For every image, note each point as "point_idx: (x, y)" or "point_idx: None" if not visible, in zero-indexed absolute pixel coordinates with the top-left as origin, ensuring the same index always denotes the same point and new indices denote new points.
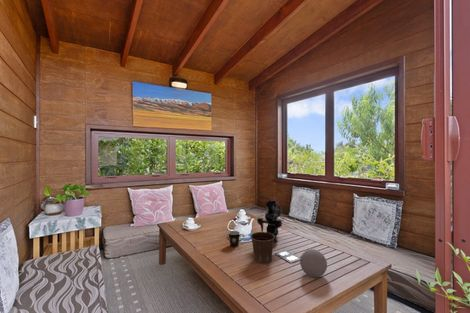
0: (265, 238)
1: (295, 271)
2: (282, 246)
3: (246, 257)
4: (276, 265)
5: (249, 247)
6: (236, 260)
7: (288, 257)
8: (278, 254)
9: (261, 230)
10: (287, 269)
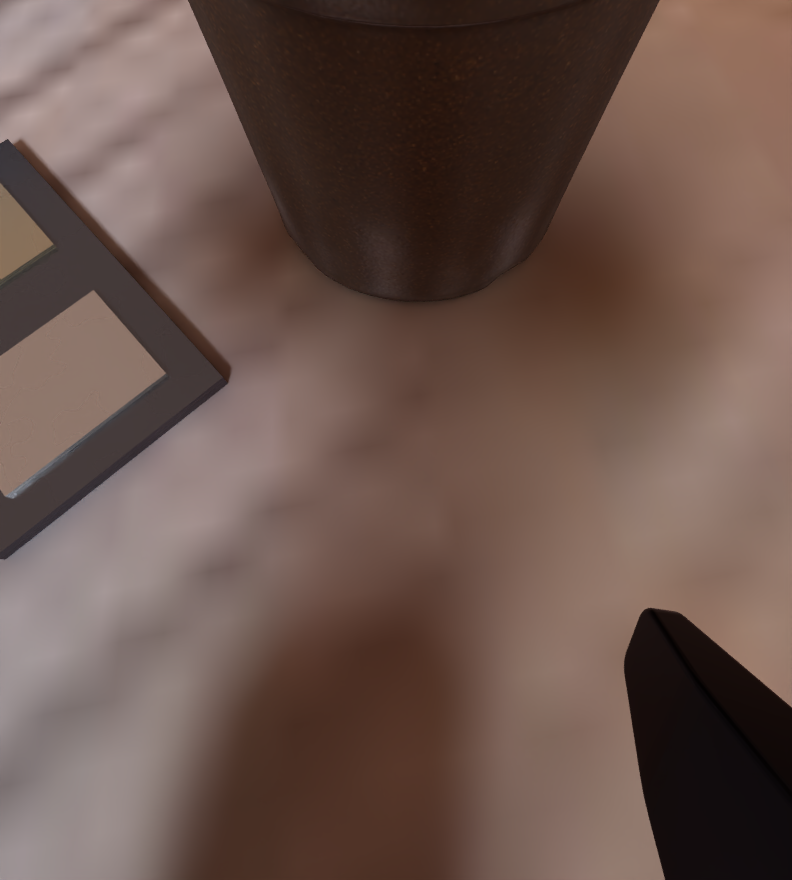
0: (369, 13)
1: (2, 2)
2: (24, 829)
3: (680, 197)
4: (219, 76)
5: (779, 605)
6: (787, 96)
7: (1, 265)
8: (159, 351)
9: (727, 656)
10: (90, 22)
